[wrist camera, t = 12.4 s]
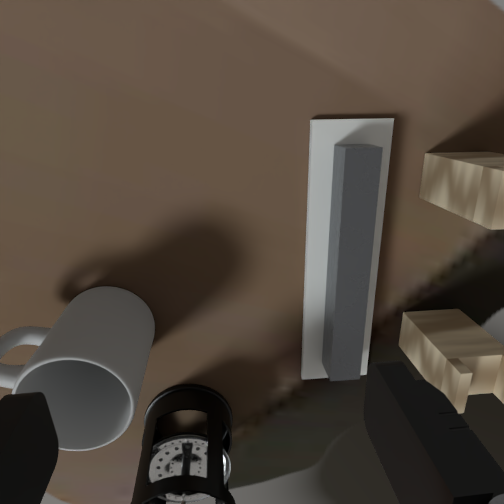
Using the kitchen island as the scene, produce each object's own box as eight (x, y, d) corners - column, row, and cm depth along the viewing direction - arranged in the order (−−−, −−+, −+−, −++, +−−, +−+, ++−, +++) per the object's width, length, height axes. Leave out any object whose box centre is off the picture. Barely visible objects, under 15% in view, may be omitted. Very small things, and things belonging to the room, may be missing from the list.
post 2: (403, 312, 41) (460, 374, 31) (458, 308, 41) (531, 368, 32) (398, 345, 42) (452, 413, 33) (452, 341, 43) (519, 407, 33)
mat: (310, 119, 33) (312, 119, 33) (390, 118, 34) (393, 118, 33) (300, 375, 42) (302, 379, 42) (364, 371, 43) (366, 374, 42)
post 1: (425, 153, 35) (503, 171, 26) (488, 151, 36) (587, 168, 26) (419, 197, 37) (490, 229, 27) (480, 195, 37) (571, 226, 28)
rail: (334, 144, 33) (345, 148, 31) (368, 143, 34) (382, 147, 31) (321, 362, 41) (329, 381, 38) (349, 360, 41) (359, 379, 39)
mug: (162, 293, 37) (143, 364, 27) (148, 367, 40) (128, 458, 30) (26, 271, 35) (-49, 339, 25) (22, 351, 38) (-47, 442, 28)
